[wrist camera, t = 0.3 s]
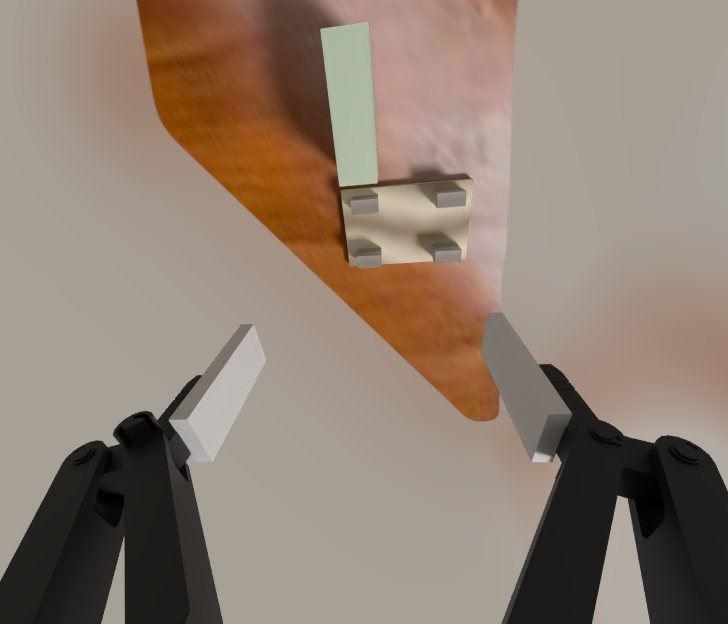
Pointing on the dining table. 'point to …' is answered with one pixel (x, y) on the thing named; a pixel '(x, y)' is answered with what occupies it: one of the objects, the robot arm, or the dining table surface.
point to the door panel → (351, 102)
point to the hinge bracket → (407, 222)
